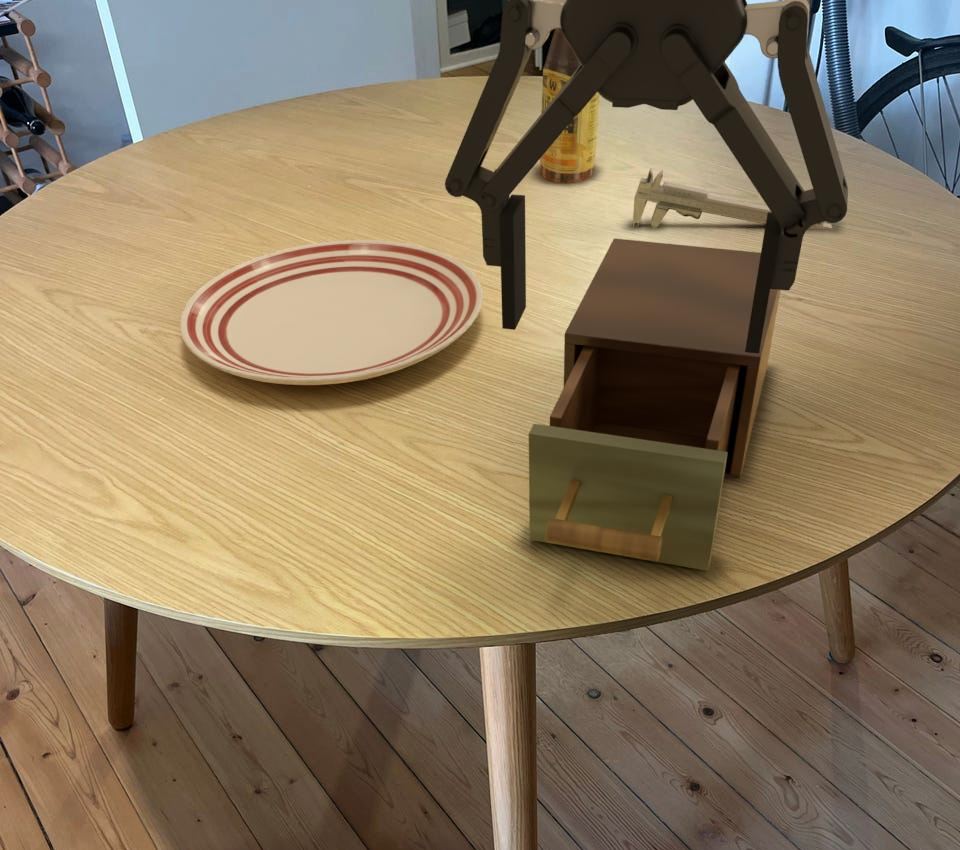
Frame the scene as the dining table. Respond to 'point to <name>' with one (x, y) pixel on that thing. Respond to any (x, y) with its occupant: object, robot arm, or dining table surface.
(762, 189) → the robot arm
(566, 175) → the sauce bottle
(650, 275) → the cabinet
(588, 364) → the drawer
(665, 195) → the caliper
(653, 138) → the dining table surface
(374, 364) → the dinner plate
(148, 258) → the dining table surface
